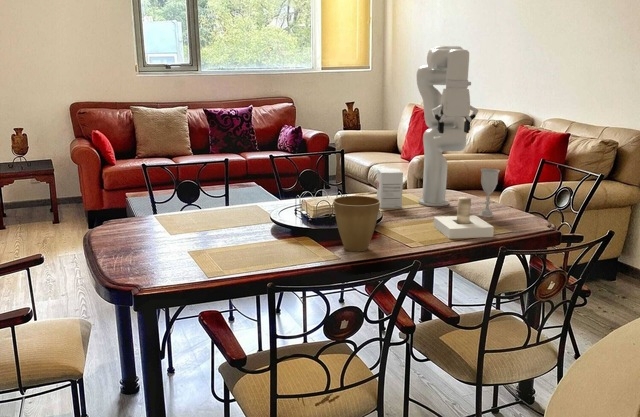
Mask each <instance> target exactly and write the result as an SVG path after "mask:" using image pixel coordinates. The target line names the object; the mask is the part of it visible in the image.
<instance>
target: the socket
mask: <svg viewBox="0 0 640 417" xmlns="http://www.w3.org/2000/svg"><path fill="white" fill-rule="evenodd" d="M433 227H434V229H435V228H436V230H437V231H439V232H440V233H441V234H443V235H444V236H445V237H446V238H448V239H449V240H453V239H470V238H471V239H472V238H473V239H475V238H477V239H478V238H494V231H495V227H494V226H493V225H491V224H490V223H489V222H486V221H485V220H483V219H482V218H480V217H478V216H477V215H474V214H473V215H470V221H469V224H457V215H450V216H448V215H447V216H444V215H443V216H433Z"/></svg>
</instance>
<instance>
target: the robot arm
mask: <svg viewBox="0 0 640 417" xmlns="http://www.w3.org/2000/svg"><path fill="white" fill-rule="evenodd" d="M469 65H470V52H469V50H468V49H464V48H463V47H461V46H459V45H458V46H457V45H437V46H434V47H431V48H429V50H428V52H427V56H426V64H425V65H421V66H419V67H418V69H417V71H416V84H417V89H418V91H419V93H420V96H421V98H422V102H423V103H422V104H423V106H422V107H423V113H424V114H423V115H424V116H423V117H424V121H425V122H424V123H425V125H426V126H427V127H428V129H426V130H425V131H424V133H423V136H422V142H423V152H424V154H423V157H424V158H423V176H422V177H423V179H422V181H423V183H422V197H421V198H418V203H419V204H420V205H422V206H428V207H445V206H448V205H449V203H450V202H449V200H448V199H447V198H446V196H447V195H446V194H447V191H446V190H447V178H448V161H447V158H446V157H445V156H444V154H443V152H461V151H464V150H465V149H466V148H467V141H468V140H467V134H469V133H470V131H471V123H472V122H473V120H475V118H476V116H477V114H478V113H479V109H478V108H476V107H474V106H472V105H471V96H470V89H469V87H470V86H471V85H472V82H471V81H469V68H470V67H469ZM435 86H445V88H443V89H442V93H441V92H440V91H439V89H437V88H436V87H435ZM471 111H472V113H471ZM470 113H471V114H470Z"/></svg>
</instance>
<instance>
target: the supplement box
mask: <svg viewBox="0 0 640 417" xmlns="http://www.w3.org/2000/svg"><path fill="white" fill-rule="evenodd" d="M376 180H377V181H376V198H377V199H379V200H380V206H379V209H402V207H403V206H402V205H403V202H402V201H403V186H404V185H403V182H404V172H402V170H400V169H399V168H377V179H376Z"/></svg>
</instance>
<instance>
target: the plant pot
mask: <svg viewBox="0 0 640 417" xmlns="http://www.w3.org/2000/svg"><path fill="white" fill-rule="evenodd" d="M332 202H333V208H334V209H333V210H334V214H335V220H336V224H337V229H338V233H339V236H340V239H341V242H342V245H343V248H344V250H346V251H350V252H365V251H366V250H368V248H369V245H370V242H371V240H372V238H373V235H374V232H375V228H376V225H377V221H378V216H379V211H380V207H379V206H380V200H379V199H377V197H372V196H365V195H343V196H339V197H336V198H333V200H332Z"/></svg>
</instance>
